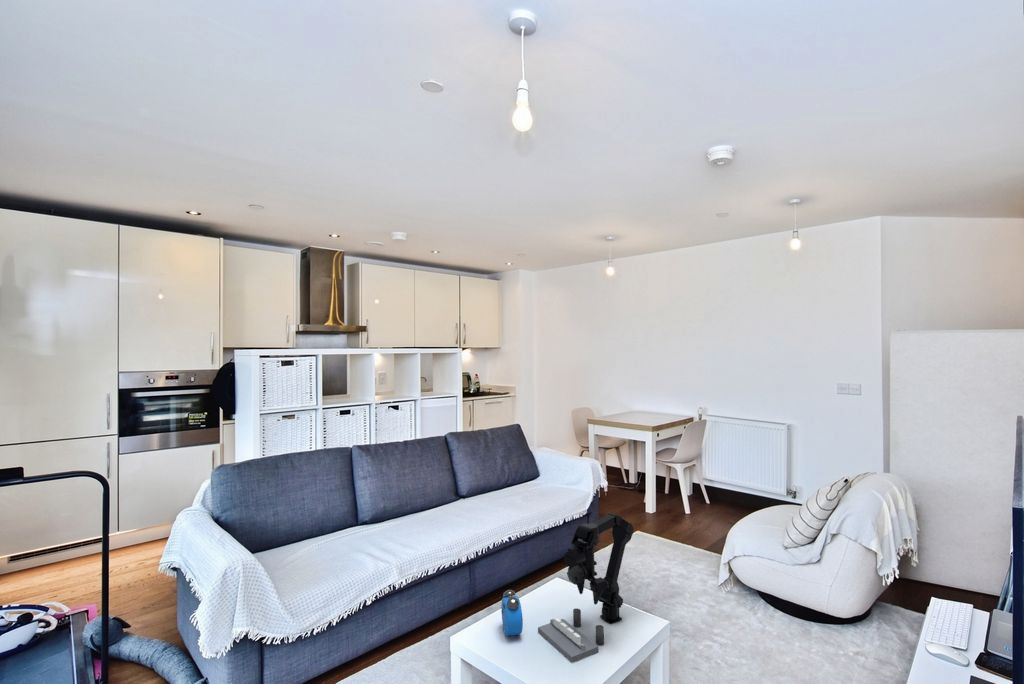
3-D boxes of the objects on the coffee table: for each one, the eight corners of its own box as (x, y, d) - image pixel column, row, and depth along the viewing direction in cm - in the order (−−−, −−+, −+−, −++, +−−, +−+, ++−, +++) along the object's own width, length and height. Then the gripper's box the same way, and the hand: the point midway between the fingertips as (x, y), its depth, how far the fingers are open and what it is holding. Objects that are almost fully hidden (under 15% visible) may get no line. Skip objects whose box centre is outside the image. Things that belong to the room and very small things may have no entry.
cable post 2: (600, 640, 184) (600, 624, 184) (605, 644, 182) (605, 627, 182) (594, 642, 183) (593, 626, 183) (599, 646, 180) (599, 630, 180)
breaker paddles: (555, 623, 191) (554, 615, 192) (583, 647, 176) (583, 638, 176) (552, 624, 191) (551, 616, 191) (580, 648, 175) (580, 639, 175)
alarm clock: (523, 641, 184) (522, 601, 184) (507, 643, 183) (506, 603, 183) (515, 623, 197) (515, 585, 197) (500, 625, 195) (500, 587, 196)
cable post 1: (577, 622, 196) (577, 607, 196) (582, 626, 194) (582, 611, 194) (571, 624, 195) (571, 609, 195) (576, 628, 192) (576, 613, 192)
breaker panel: (563, 623, 196) (562, 614, 196) (598, 652, 177) (598, 641, 177) (538, 632, 190) (537, 622, 190) (571, 662, 171) (571, 651, 171)
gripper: (556, 555, 194) (557, 594, 194) (584, 573, 178) (586, 616, 178) (579, 548, 199) (580, 587, 199) (608, 565, 183) (610, 607, 183)
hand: (588, 599), depth 190 cm, fingers open, 9 cm apart
